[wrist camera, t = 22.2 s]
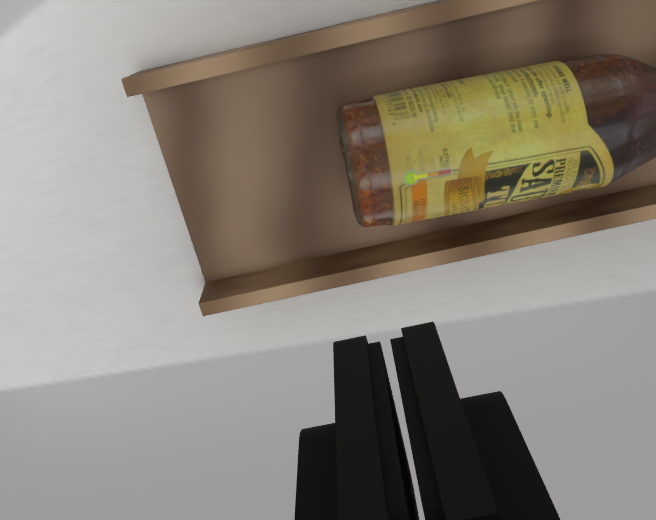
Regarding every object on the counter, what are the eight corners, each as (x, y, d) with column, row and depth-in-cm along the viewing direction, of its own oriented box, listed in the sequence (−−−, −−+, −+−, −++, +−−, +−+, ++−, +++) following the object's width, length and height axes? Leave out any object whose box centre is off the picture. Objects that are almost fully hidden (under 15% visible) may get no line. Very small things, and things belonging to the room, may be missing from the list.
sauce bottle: (354, 227, 26) (833, 138, 25) (328, 85, 26) (800, -10, 25) (357, 237, 32) (735, 167, 31) (336, 123, 33) (711, 50, 31)
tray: (738, -71, 29) (787, -79, 26) (725, 177, 34) (766, 194, 31) (138, 71, 30) (121, 79, 27) (211, 289, 35) (203, 316, 32)
